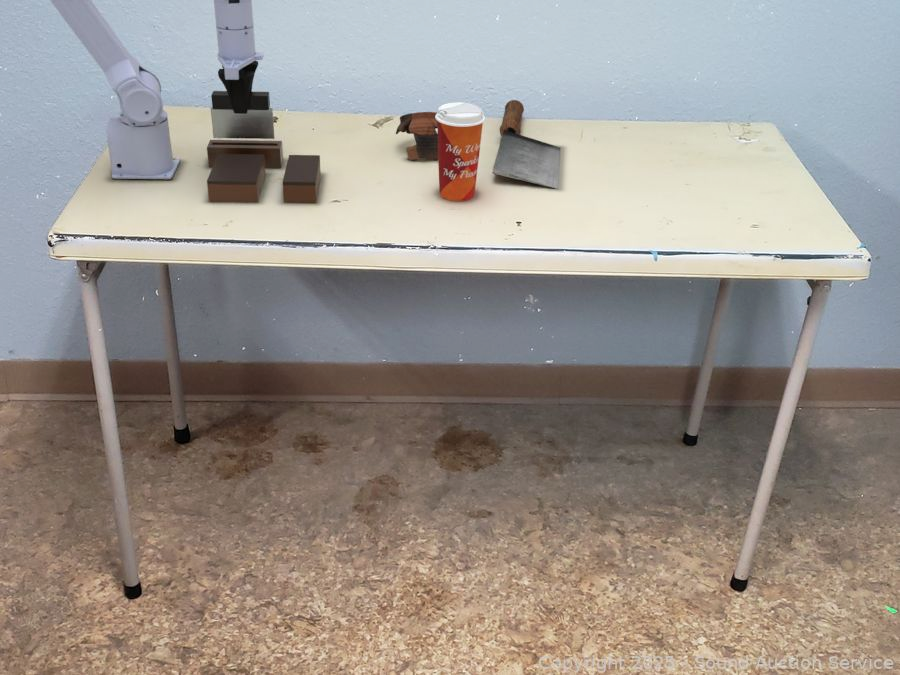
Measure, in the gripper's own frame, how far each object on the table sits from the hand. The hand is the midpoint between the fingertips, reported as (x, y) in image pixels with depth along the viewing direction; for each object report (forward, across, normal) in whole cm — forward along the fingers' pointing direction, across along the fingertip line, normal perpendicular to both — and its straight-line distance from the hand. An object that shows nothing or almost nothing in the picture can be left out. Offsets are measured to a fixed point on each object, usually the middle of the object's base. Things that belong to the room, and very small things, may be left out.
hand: (242, 110), depth 156 cm
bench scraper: (+5, 0, 0) cm, 5 cm away
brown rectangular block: (+9, -10, -10) cm, 17 cm away
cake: (+9, -10, 0) cm, 14 cm away
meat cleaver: (+10, +8, -49) cm, 51 cm away
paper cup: (+10, -12, -35) cm, 38 cm away
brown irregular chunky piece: (+10, +6, -31) cm, 33 cm away
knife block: (+9, 0, 0) cm, 9 cm away
